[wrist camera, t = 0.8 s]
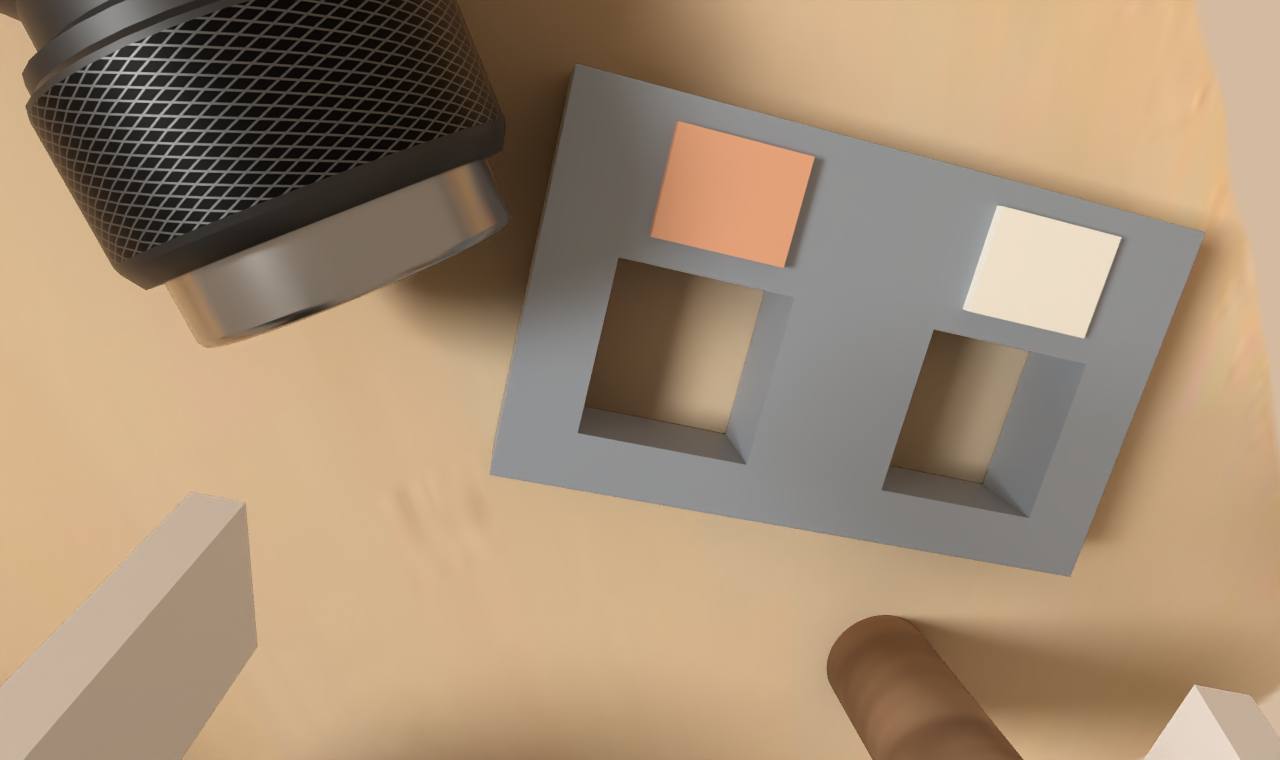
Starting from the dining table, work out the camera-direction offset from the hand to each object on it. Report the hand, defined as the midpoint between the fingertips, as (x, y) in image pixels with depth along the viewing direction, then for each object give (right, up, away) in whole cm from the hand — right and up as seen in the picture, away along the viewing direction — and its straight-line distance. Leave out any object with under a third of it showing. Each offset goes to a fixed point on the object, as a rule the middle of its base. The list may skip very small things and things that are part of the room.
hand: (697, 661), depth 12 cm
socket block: (+5, +6, +17) cm, 18 cm away
